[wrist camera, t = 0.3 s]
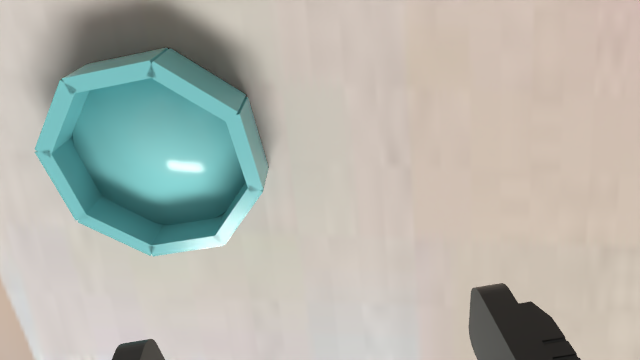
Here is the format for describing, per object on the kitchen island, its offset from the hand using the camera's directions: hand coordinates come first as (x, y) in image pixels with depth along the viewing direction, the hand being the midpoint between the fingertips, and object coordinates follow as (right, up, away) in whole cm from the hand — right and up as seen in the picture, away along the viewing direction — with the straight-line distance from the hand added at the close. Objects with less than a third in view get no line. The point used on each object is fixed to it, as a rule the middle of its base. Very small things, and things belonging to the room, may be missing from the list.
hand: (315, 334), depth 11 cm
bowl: (-11, +6, +21) cm, 24 cm away
